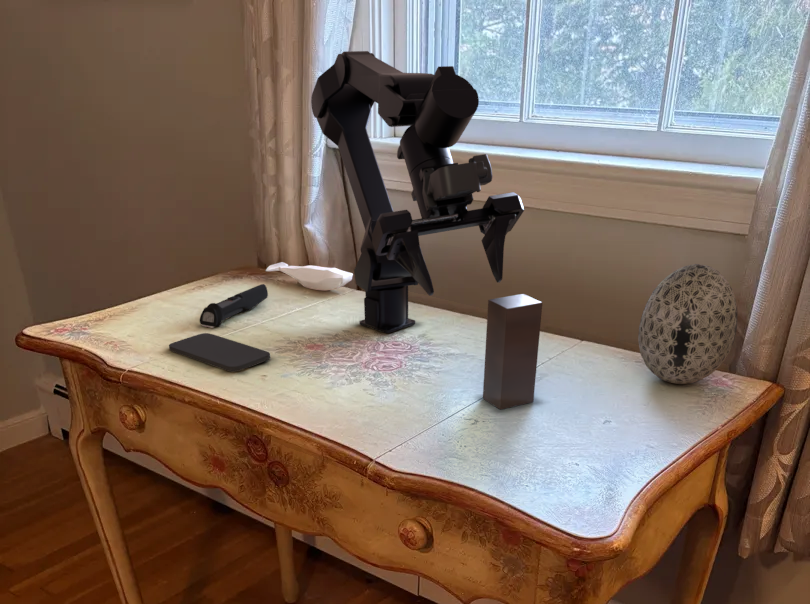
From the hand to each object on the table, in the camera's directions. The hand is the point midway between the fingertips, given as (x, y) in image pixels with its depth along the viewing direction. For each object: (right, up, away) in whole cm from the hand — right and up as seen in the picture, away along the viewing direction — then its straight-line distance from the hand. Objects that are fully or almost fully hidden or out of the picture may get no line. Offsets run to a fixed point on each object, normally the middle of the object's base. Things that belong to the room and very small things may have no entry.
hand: (466, 287), depth 98 cm
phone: (-34, -5, +15) cm, 37 cm away
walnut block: (+5, -14, +1) cm, 15 cm away
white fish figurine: (-24, +14, +43) cm, 52 cm away
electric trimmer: (-35, +5, +31) cm, 47 cm away
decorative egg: (+28, -11, +6) cm, 31 cm away
